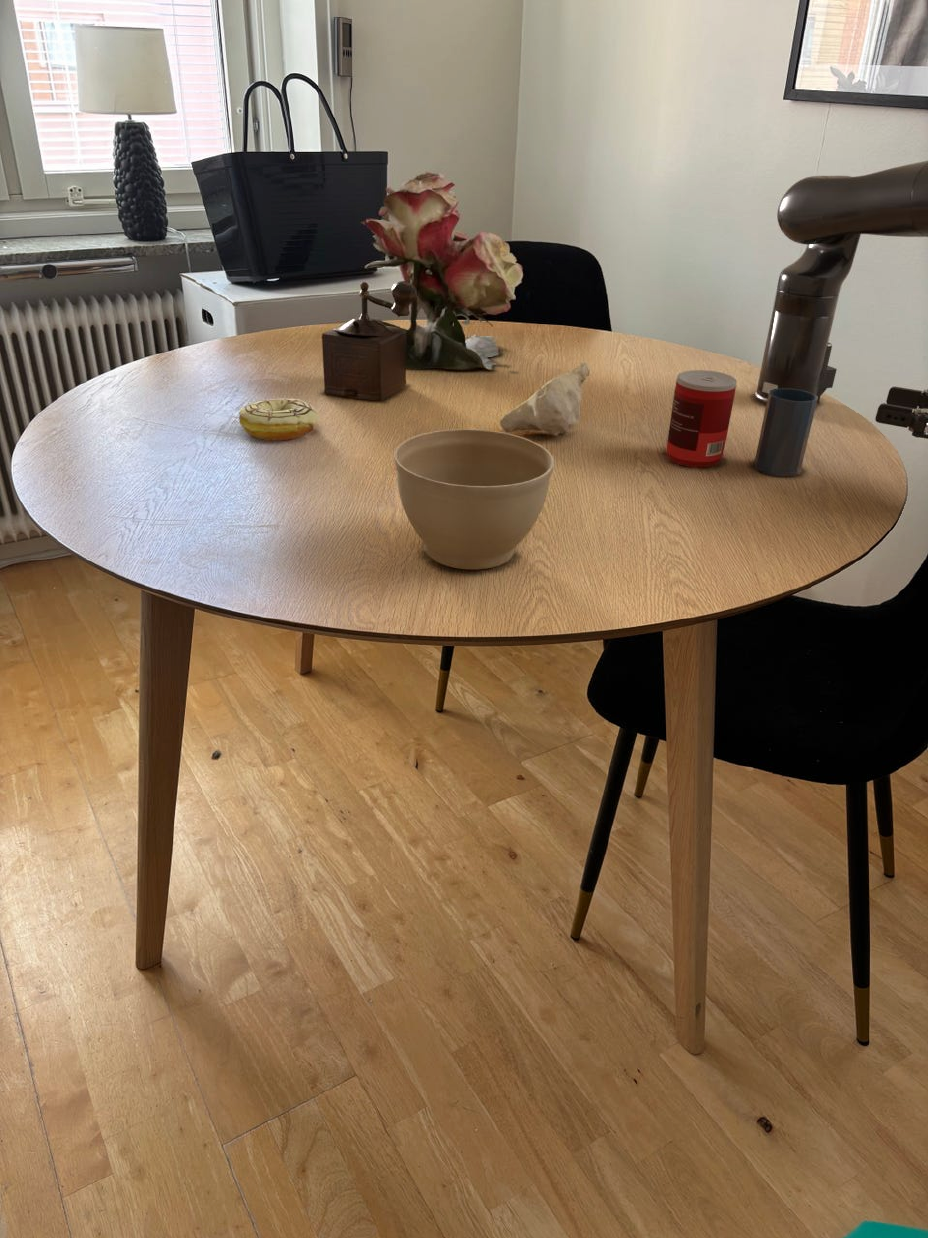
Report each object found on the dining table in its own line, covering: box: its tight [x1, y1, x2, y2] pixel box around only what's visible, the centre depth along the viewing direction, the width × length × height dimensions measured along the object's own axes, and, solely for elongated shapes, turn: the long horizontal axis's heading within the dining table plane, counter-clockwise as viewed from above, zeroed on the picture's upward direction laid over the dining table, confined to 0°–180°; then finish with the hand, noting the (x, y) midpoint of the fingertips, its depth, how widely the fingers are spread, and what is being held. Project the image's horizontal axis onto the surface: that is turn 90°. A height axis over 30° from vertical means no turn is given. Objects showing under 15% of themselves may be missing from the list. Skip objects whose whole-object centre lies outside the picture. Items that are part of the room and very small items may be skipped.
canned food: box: [665, 369, 737, 468], centre depth 121 cm, size 8×8×11 cm
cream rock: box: [498, 362, 591, 437], centre depth 131 cm, size 15×7×15 cm
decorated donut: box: [238, 398, 319, 442], centre depth 127 cm, size 10×11×4 cm
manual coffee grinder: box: [321, 280, 417, 402], centre depth 141 cm, size 16×11×18 cm
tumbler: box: [753, 388, 818, 478], centre depth 119 cm, size 6×6×10 cm
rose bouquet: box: [360, 171, 524, 371], centre depth 160 cm, size 26×29×30 cm
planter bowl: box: [393, 428, 555, 570], centre depth 94 cm, size 16×16×11 cm
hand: (882, 403), depth 111 cm, fingers open, 8 cm apart
